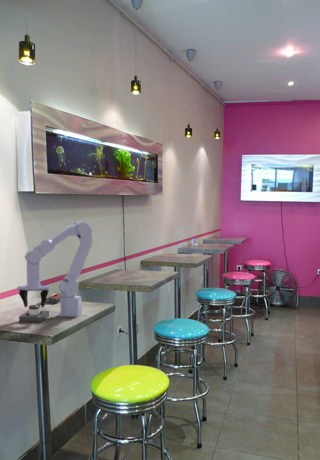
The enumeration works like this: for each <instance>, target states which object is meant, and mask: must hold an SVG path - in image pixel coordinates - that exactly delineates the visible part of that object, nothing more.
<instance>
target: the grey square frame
mask: <svg viewBox="0 0 320 460" xmlns="http://www.w3.org/2000/svg"><path fill="white" fill-rule="evenodd" d="M49 317H50V311H49V310H40V315H39V316H29V309H28V310H26V311H24V313H22V314H21V315H20V316H19V317H18V322H19V323H31V324H32V323H34V324H37V323H43V322H44V321H45V320H46V319H48V318H49Z"/></svg>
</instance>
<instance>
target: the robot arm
mask: <svg viewBox="0 0 320 460" xmlns="http://www.w3.org/2000/svg"><path fill="white" fill-rule="evenodd" d="M92 231H93V229H92V227H91V225H90V224H89V223H88V222H85V221H80V220H76V221H74V222H73V223H71V224H69V225H68V226H66V227H65V228H64V229H63V230H61V231H60V232H59V233H58V234H56V235H55V236H53V237H52V238H51V239H47V238H46V239H42V240H41V242H40V243H39V244H38V245H36V246H33V247H32V249H29V250H27V251H26V253H25V254H24V255H25V256H24V259H25V261H26V285H17V287H16V291H17V292H18V295H19V296H20V298H21V300H22V302H23V306H24V308H27V307H29V305H28V304H29V303H28V302H29V301H28V294H29V292H40V294H39V295H40V298H41V299H40V302H41V304H40V305H41V306H40V307H41V308H45V305H46V303H45V300H46V297H48V295H49V292H50V291H51V288H52V287H51V285H41V266H40V263H41V260H42V258H44V257H46V256H47V255H49V254H50V253H51V252H53V251H54V250H55V247H56V245H58V244H59V243H61V242H63V241H64V240H66V239H67V238H69V237H71V236H74V237H75V236H77V239H78V240H79V244H78V245H79V246H78V248H77V250H76V253H75V254H74V255H75V256H73V257H74V258H73V260H72V263H71V265H70V268H69V269H68V272H67V274H66V275H65V276H64V277H63V280H61V281H60V283H59V284H58V290H59V291H60V292H61V294H60V302H59V304H60V309H59V310H60V312H59V313H58V314H57V317H66V318H69V317H71V318H72V317H73V318H78V317H79V316H80V315H81V314H82V313H83V310H82V306H83V305H82V304H83V303H82V297H81V295H77V293H78V285H79V277H80V274H81V271H82V270H83V266H84V265H85V262H86V260H87V256H88V255H89V252H90V250H91V248H92V245H93V235H92Z"/></svg>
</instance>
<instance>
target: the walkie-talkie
mask: <svg viewBox="0 0 320 460" xmlns="http://www.w3.org/2000/svg"><path fill="white" fill-rule="evenodd" d="M60 294H61V293H59V292H54V293H51V294H50V295H49V296H47V297H46V300H45V305H47V304H48V305H49V304H51V305H58V304H60ZM35 305H39V306H40V305H41V301H40V302H38V303H36V304H35Z"/></svg>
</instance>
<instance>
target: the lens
mask: <svg viewBox="0 0 320 460" xmlns="http://www.w3.org/2000/svg"><path fill="white" fill-rule="evenodd" d="M40 307H41V306H40V305H36V304H32V305H28V310H29V316H39V315H40V311H41V310H40V309H41V308H40Z"/></svg>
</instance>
